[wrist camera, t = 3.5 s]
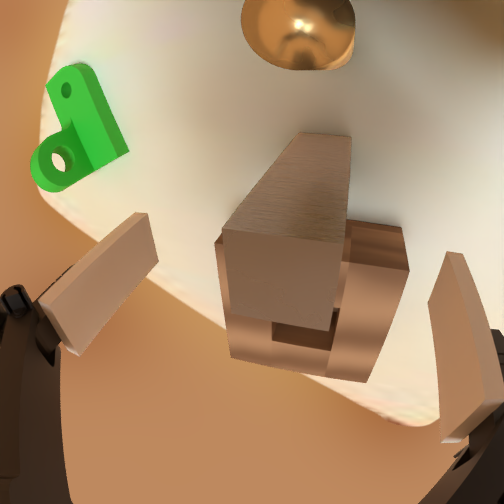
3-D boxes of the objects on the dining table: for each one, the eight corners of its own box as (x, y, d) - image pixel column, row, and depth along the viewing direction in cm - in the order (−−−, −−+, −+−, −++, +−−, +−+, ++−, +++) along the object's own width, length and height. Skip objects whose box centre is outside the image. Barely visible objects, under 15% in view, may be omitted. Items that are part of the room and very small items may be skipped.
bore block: (241, 207, 27) (214, 242, 23) (401, 227, 23) (409, 271, 19) (249, 317, 35) (231, 357, 30) (369, 338, 31) (366, 382, 27)
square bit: (298, 132, 22) (221, 228, 10) (351, 137, 21) (343, 244, 9) (298, 180, 24) (231, 313, 13) (347, 185, 23) (328, 331, 11)
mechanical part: (130, 150, 28) (73, 182, 21) (96, 170, 30) (44, 202, 24) (88, 52, 22) (25, 64, 16) (58, 81, 25) (1, 99, 19)
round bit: (296, 19, 17) (238, -24, 7) (353, 21, 16) (352, -28, 6) (298, 68, 19) (243, 71, 10) (353, 72, 18) (355, 74, 9)
